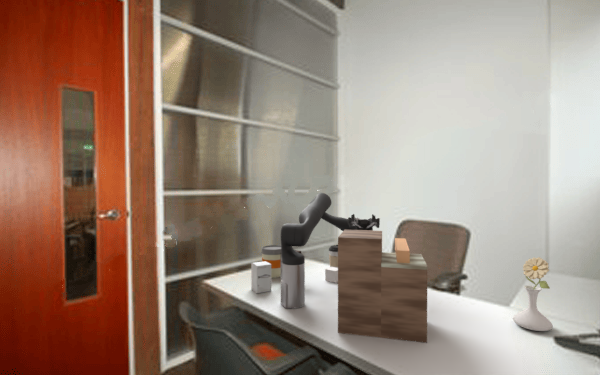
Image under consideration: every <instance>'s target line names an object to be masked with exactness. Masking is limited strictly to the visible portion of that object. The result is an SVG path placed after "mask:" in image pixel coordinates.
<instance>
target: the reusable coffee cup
mask: <svg viewBox="0 0 600 375" xmlns="http://www.w3.org/2000/svg"><path fill="white" fill-rule="evenodd" d="M280 253H281V244H280V245H278V244H277V245H276V244H273V245H272V244H270V245H264V246H261V254H262V256H261V262H264V261H266V262H268V263H270V264H271V279H272V278H273V279H274V278H281V257H280V256H281V255H280Z"/></svg>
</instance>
